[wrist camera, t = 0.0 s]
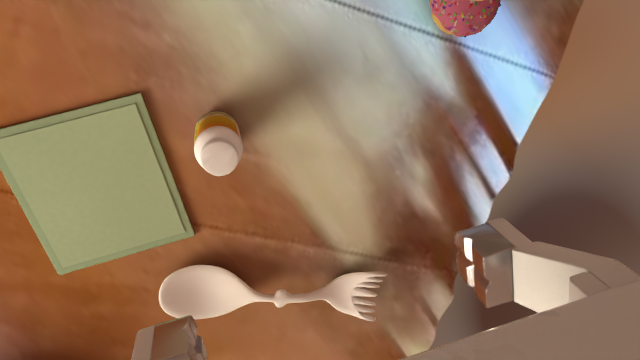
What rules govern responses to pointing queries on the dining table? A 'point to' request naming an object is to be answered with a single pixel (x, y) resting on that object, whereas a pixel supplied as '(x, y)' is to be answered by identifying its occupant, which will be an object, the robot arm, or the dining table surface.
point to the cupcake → (463, 15)
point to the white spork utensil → (255, 293)
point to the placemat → (94, 183)
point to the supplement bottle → (218, 143)
